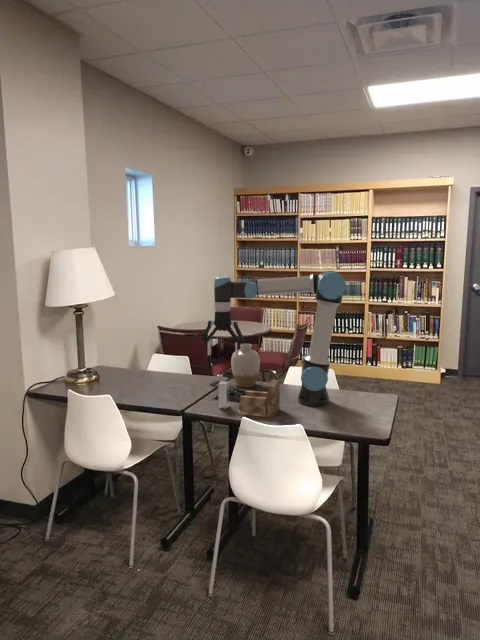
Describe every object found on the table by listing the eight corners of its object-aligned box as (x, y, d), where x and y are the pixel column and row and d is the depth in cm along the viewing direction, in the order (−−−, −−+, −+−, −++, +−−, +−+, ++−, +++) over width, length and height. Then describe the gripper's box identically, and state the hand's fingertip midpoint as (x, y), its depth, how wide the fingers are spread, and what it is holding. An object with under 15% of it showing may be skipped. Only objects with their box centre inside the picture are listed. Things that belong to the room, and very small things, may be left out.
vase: (262, 388, 257) (262, 346, 254) (234, 390, 254) (233, 348, 251) (256, 380, 272) (256, 341, 269) (229, 382, 269) (228, 342, 266)
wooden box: (279, 408, 223) (279, 379, 221) (274, 417, 211) (274, 386, 209) (244, 405, 227) (244, 377, 225) (237, 414, 216) (237, 384, 214)
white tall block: (229, 406, 227) (229, 381, 226) (226, 408, 224) (226, 384, 222) (221, 405, 228) (221, 381, 227) (218, 408, 225) (218, 383, 223)
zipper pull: (218, 379, 250) (258, 386, 236) (218, 392, 251) (258, 399, 237) (207, 383, 243) (248, 391, 229) (207, 396, 244) (248, 404, 230)
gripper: (250, 310, 220) (250, 355, 223) (200, 309, 227) (200, 352, 230) (246, 312, 213) (246, 358, 216) (194, 310, 219) (195, 355, 222)
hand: (223, 355), depth 223 cm, fingers open, 13 cm apart
